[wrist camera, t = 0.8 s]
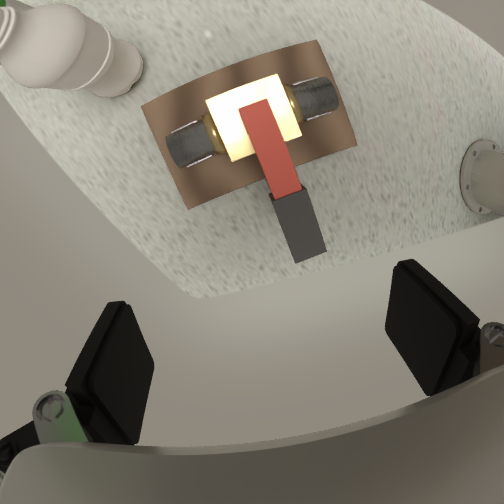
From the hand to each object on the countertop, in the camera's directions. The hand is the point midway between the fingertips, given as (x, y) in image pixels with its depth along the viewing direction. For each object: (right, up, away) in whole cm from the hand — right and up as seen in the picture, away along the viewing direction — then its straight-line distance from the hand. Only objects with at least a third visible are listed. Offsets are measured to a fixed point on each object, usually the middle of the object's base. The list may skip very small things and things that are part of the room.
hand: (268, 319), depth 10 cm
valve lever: (+2, +9, +17) cm, 19 cm away
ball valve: (-1, +17, +21) cm, 27 cm away
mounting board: (-1, +18, +22) cm, 28 cm away
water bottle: (-17, +25, +19) cm, 35 cm away
